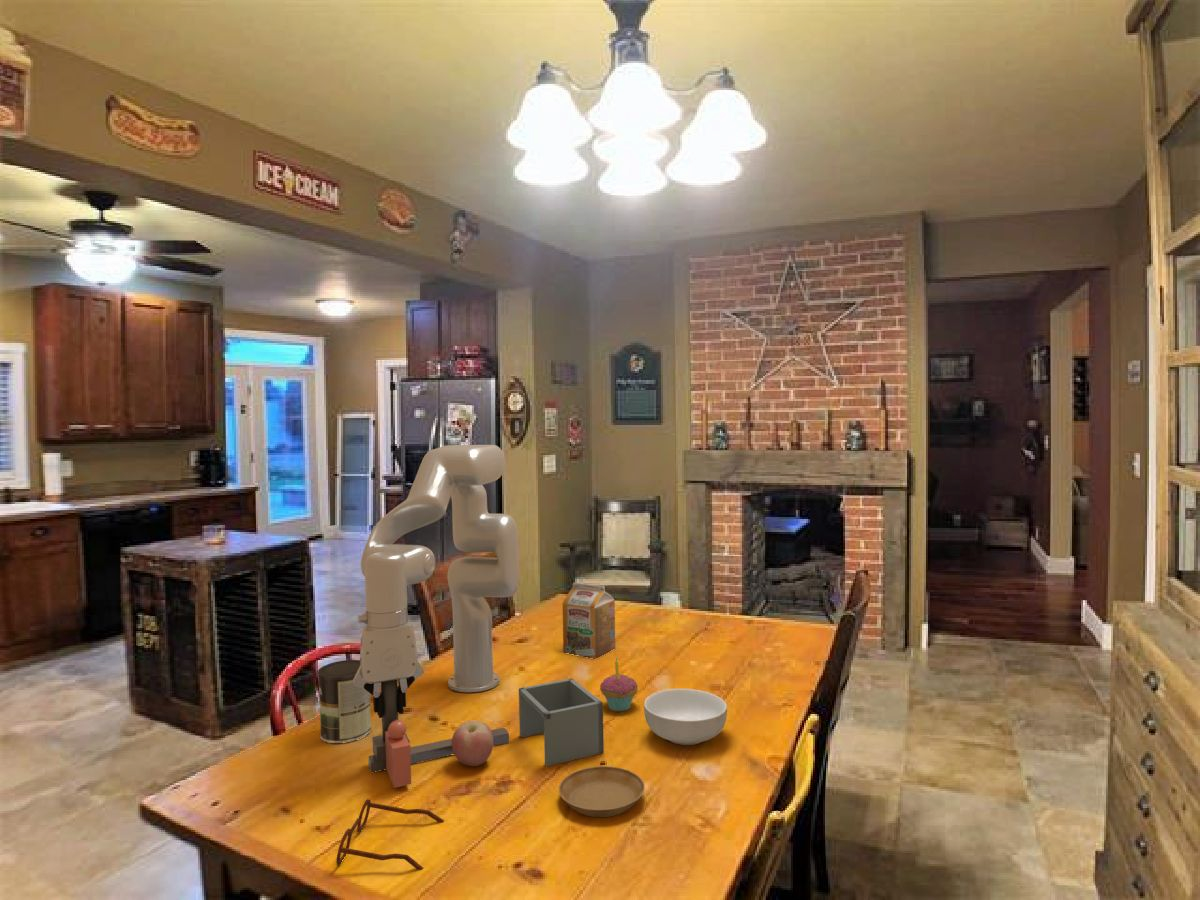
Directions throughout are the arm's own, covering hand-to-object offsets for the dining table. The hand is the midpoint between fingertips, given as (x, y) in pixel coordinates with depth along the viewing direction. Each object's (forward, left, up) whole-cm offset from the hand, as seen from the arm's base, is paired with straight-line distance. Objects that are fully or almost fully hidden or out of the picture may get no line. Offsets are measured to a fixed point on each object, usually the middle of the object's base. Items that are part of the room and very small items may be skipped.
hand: (390, 712), depth 138 cm
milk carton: (-43, +62, -11) cm, 76 cm away
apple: (+7, +14, -10) cm, 19 cm away
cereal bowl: (+16, +56, -11) cm, 59 cm away
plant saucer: (+30, +30, -11) cm, 44 cm away
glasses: (+27, -5, -11) cm, 29 cm away
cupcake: (-4, +51, -10) cm, 52 cm away
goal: (+7, +32, -10) cm, 34 cm away
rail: (0, +10, -10) cm, 14 cm away
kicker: (+4, 0, -9) cm, 10 cm away
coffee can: (-19, -6, -11) cm, 23 cm away
